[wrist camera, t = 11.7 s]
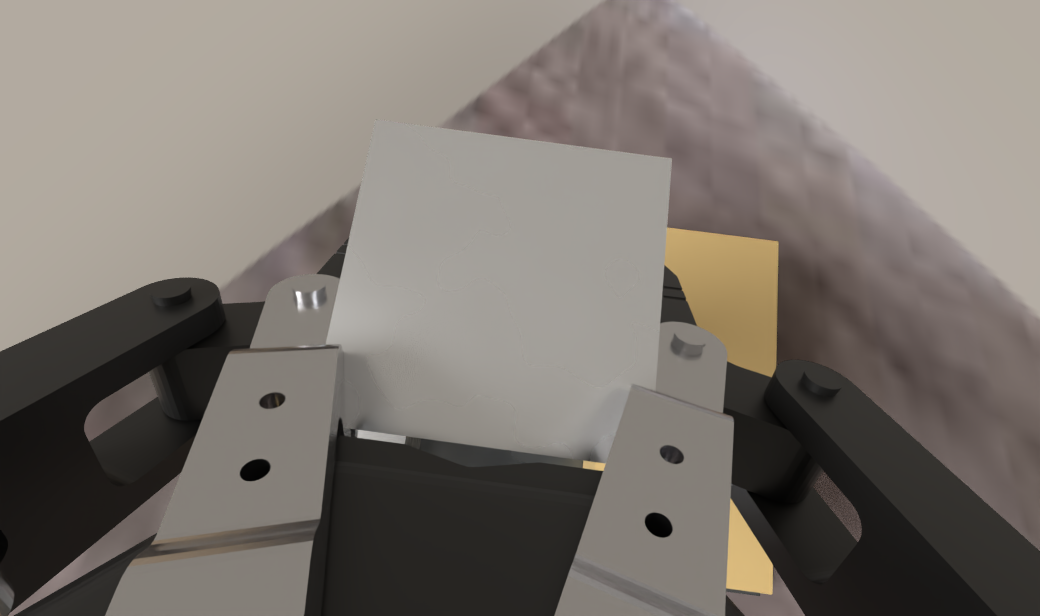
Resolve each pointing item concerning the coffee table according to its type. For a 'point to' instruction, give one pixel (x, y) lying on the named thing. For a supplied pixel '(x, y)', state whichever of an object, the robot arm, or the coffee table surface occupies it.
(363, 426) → the steel block
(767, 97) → the coffee table surface
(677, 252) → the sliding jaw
